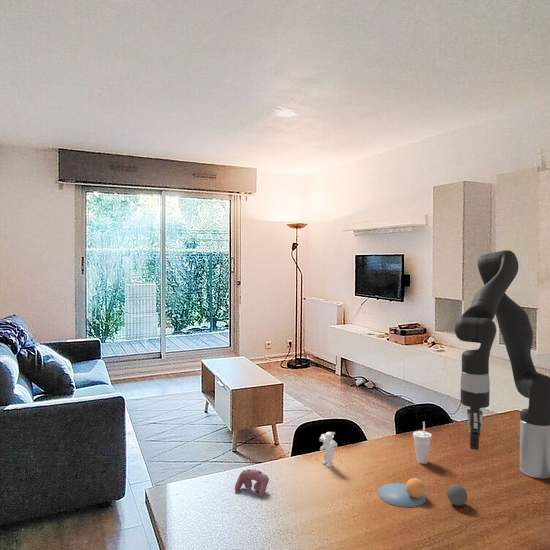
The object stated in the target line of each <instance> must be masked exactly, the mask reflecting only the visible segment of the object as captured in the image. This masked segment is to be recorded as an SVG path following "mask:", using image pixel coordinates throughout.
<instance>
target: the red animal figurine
mask: <svg viewBox="0 0 550 550" xmlns="http://www.w3.org/2000/svg"><path fill="white" fill-rule="evenodd" d="M269 480H270V478H269V477H268V475H267V474H265V473H264V472H263V471H260V470H257V469H245V470H244V469H243V470H242V471H241V472H240V474H239V476H238V478H237V480H236V482H235V484H234V485H235V486H234V491H235V492H239V490H240V489H242V486H243V484H244V487H245V489H247V490H250V489H252V488H253V489H254V491H256V492H258V493H259V494H258V495H259V497H260V498H262V497H263V496H264V495H265V493H266V491H267V488H268V484H269V482H270V481H269ZM253 481H255V483H254V484H253Z"/></svg>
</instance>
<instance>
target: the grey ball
mask: <svg viewBox="0 0 550 550" xmlns="http://www.w3.org/2000/svg"><path fill="white" fill-rule="evenodd" d="M446 496H447V499H448V501H449V502H450V503H451V504H452V505H454V506H458V507H460V506H463V505H465V504H466V503H467V502H468V499H469V498H468V497H469V496H468V492H467V490H466V488H464V486H462V485H460V484H452V485H450V486H449V487H448V488H447V491H446Z"/></svg>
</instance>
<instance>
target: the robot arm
mask: <svg viewBox="0 0 550 550" xmlns="http://www.w3.org/2000/svg"><path fill="white" fill-rule="evenodd" d="M477 259H478V260H477V268H478V272H479V275H480V278H481V280H482V283H483V285H482V286H481V288H479V289H478V290H477V292H476V293H475V295H474V297H473V299H472V301H471V304H470V306H469V307H468V308H467V309H466V310H465V311H464V312H463V313H462V314H461V315H460V316H459V318H458V319H457V320H456V322H455V326H454V334H455V336H456V338H457V339H458V340H459V341H462V342H465V343H466V342H467V343H475V344H476V343H477V344H479V348H475V349H468V350H464V351H463V352H462V353H461V375H460V403H461V404H462V405H463V406H465V407H469V408H467V409H466V416H467V427H468V429H469V434H468V435H469V447H470V449H471V450H476V451H477V450H479V449H480V447H479V446H480V437H481V430H482V425H483V423H482V420H483V418H484V415H483V410H480V409H482V408H483V409H485V408H488V407H489V406H490V394H491V393H490V385H491V384H490V382H491V381H490V373H489V371H490V365H489V364H490V355H491V349H492V347H493V343H494V341H495V338H496V334H497V326H496V323H495V322H494V321H493V320H494V318H496V321H497V325H498V329H499V331H500V334H501V336H502V337H501V338H502V339H503V342H504V346H505V349H506V353H507V356H508V358H509V362H510V365H511V370H512V376H513V382H514V385H515V388H516V390H517V392H518V393H519V394H520V395H521V396H523V397H524V398H525V399H526V398H527V399H528V408H523V409H522V410H521V411H520V413H519V472H521V473H522V474H523V475H525V476H528V477H530V478H534V479H549V478H550V376H549V375H545V374H543V373H541V372H538V371H537V369H536V367H535V365H534V362H533V359H532V354H531V349H532V345H533V341H534V331H533V327H532V325H531V322H530V317H529V316H528V314H527V312H526V311H525V310H524V309H523V308H522V307H521V306H520V305H519V304H518V303H516V302H515V301H514V300H513V299H512V298H510V297H509V296H508V295H507V294H506V292H507V290H508V289H509V287H510V286H511V284H512V283H513V281H515V279H516V276H517V275H518V272H519V261H518V260H519V259H518V257H517V256H516V254H515V253H514V251H513V250H509V249H508V250H507V249H506V250H505V249H504V250H499V251H495V252H489V253H485V254H482V255H480V256H479V257H478V258H477Z"/></svg>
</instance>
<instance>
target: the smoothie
mask: <svg viewBox="0 0 550 550" xmlns="http://www.w3.org/2000/svg"><path fill="white" fill-rule="evenodd" d="M425 423H426V422H425V421H422V426H423V427H422V430H416V431H414V432H412V437H413V441H414V449H415V457H416V458H415V459H416V462H417V463H419V464H423V465H426V464H428V462H429V456H430V447H431V440H432V439H433V438H432V437H433V436H432V433H430V432H428V431H426V424H425Z"/></svg>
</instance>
